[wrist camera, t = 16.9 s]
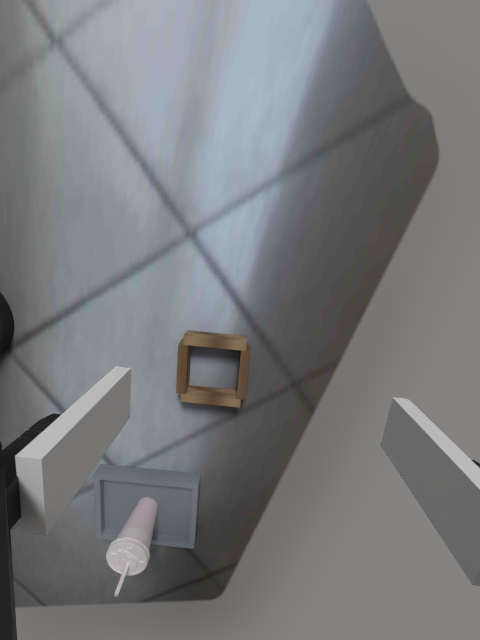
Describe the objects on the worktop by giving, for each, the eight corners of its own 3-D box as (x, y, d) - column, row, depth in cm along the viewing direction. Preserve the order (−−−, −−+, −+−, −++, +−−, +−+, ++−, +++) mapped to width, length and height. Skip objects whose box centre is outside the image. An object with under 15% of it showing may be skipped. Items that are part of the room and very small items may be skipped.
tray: (102, 526, 57) (95, 538, 55) (100, 464, 54) (94, 474, 52) (196, 536, 57) (194, 548, 55) (200, 474, 54) (198, 484, 51)
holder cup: (180, 392, 50) (175, 401, 47) (183, 330, 47) (178, 335, 45) (244, 398, 50) (244, 407, 47) (251, 336, 47) (251, 342, 44)
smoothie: (140, 524, 56) (104, 614, 42) (124, 497, 54) (82, 581, 41) (171, 514, 55) (145, 602, 41) (155, 486, 53) (123, 568, 40)
